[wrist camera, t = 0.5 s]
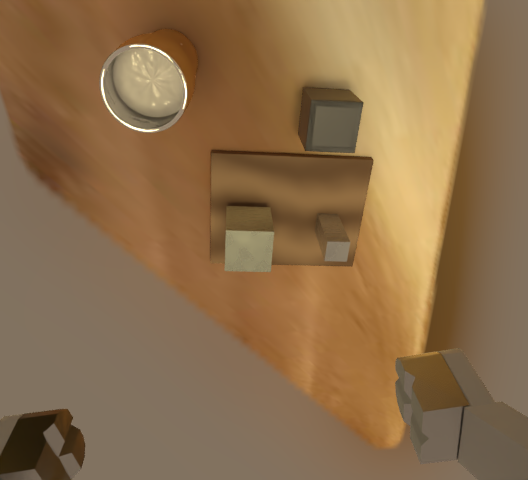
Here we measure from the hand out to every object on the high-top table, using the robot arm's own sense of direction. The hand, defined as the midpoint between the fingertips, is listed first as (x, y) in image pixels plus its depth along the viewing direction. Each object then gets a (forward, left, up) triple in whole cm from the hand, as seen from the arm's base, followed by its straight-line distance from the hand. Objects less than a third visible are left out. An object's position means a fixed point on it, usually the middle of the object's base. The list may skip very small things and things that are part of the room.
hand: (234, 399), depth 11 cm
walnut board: (+16, +7, -42) cm, 46 cm away
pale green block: (+17, +2, -42) cm, 45 cm away
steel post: (+17, +12, -42) cm, 46 cm away
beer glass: (-1, -7, -43) cm, 43 cm away
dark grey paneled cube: (+3, +10, -42) cm, 44 cm away
